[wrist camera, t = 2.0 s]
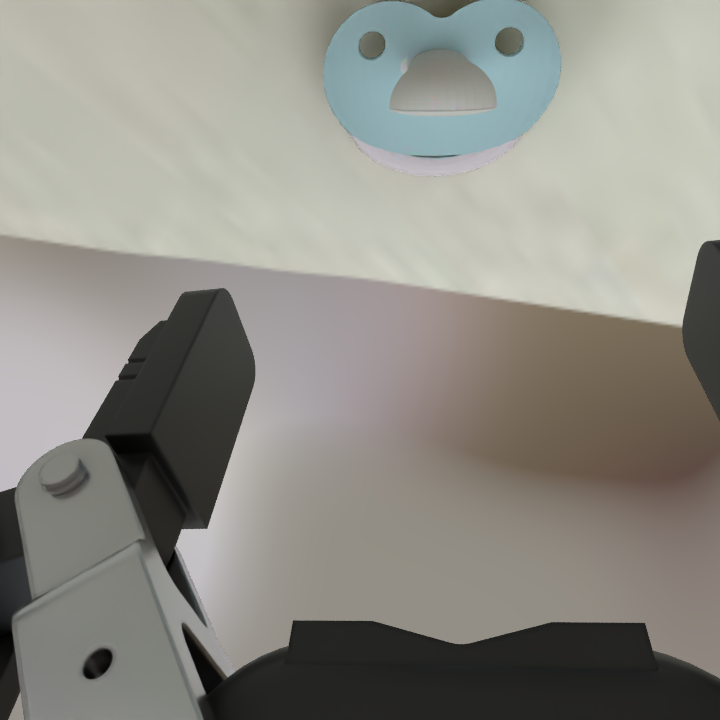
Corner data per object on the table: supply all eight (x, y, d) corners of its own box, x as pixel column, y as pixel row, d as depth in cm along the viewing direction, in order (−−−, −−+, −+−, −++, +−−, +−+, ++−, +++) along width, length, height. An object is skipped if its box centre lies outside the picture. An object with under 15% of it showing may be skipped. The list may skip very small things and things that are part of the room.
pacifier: (529, 167, 23) (558, -16, 18) (557, 258, 18) (603, 41, 14) (339, 169, 23) (326, -7, 19) (320, 257, 19) (298, 50, 15)
